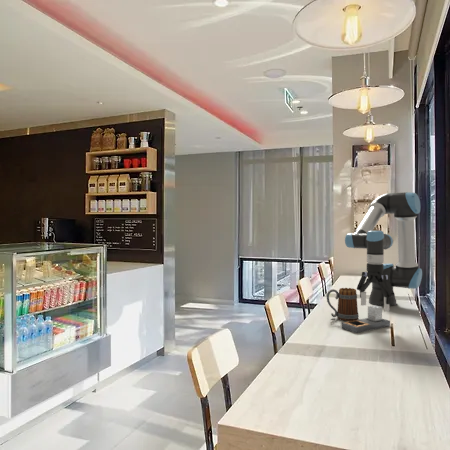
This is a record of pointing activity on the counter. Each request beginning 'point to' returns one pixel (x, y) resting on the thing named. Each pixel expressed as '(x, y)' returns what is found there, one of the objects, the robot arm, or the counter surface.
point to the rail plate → (364, 325)
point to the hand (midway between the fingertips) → (374, 308)
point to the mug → (345, 304)
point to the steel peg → (374, 313)
